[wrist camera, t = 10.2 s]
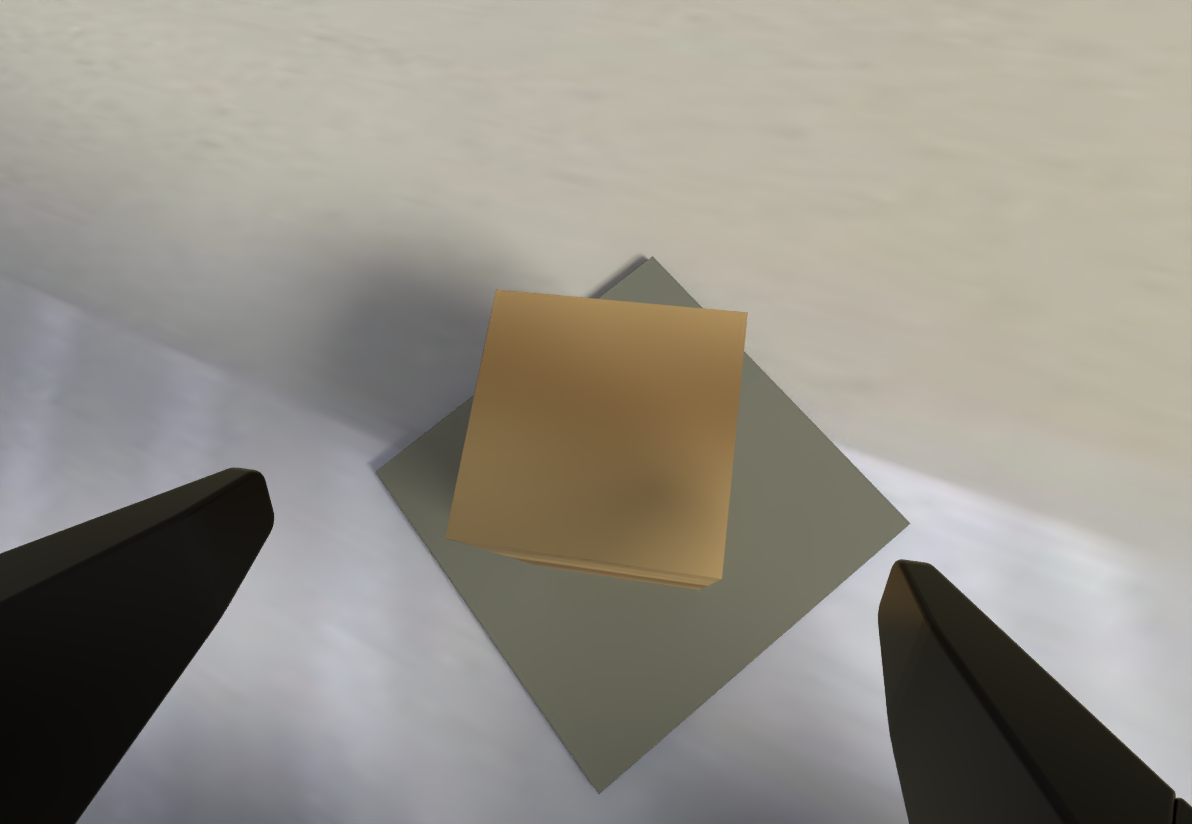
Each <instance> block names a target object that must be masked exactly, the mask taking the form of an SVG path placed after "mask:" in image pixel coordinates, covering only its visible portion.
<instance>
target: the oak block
mask: <svg viewBox="0 0 1192 824" xmlns="http://www.w3.org/2000/svg"><path fill="white" fill-rule="evenodd" d="M747 314H748V312H737V311H726V310H715V309H704V308H692V307H681V306H670V305H659V304H648V303H637V302H626V301H615V300H604V299H593V298H582V297H571V296H560V295H549V294H538V293H527V292H516V291H505V290H496V293H495V298H494V303H493V308H492V312H491V317H490V322H489V327H488V332H487V337H486V342H485V346H484V351H483V356H482V361H481V366H480V371H479V376H478V380H477V385H476V390H475V395H474V400H473V405H472V410H471V414H470V419H469V424H468V429H467V434H466V439H465V443H464V448H463V453H462V458H461V463H460V468H459V473H458V477H457V482H456V487H455V492H454V497H453V502H452V507H451V511H450V516H449V521H448V526H447V531H446V536H445V538H446V539H450V540H453V541H456V542H460V543H463V544H467V545H470V546H473V547H477V548H480V549H483V550H487V551H490V552H494V553H497V554H500V555H504V556H507V557H511V558H514V559H517V560H521V561H524V562H527V563H531V564H534V565H538V566H544V567H550V568H557V569H563V570H570V571H577V572H583V573H590V574H597V575H603V576H610V577H617V578H623V579H630V580H637V581H643V582H650V583H656V584H663V585H670V586H676V587H683V588H690V589H696V590H700V589H703V588H705V587H707V586H709V585H711V584H713V583H715V582H717V581H719V580H721V579H722V573H723V563H724V552H725V542H726V532H727V521H728V511H729V500H730V490H731V480H732V469H733V459H734V449H735V438H736V428H737V417H738V407H739V397H740V386H741V376H742V365H743V355H744V345H745V334H746V324H747Z"/></svg>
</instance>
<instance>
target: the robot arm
mask: <svg viewBox="0 0 1192 824" xmlns="http://www.w3.org/2000/svg"><path fill="white" fill-rule="evenodd" d="M273 524H274V512H273V508H272V504H271V500H270V496H269V493H268V489H267V485H266V481H265V478H264V476H263V475H262V474H261V473H260V472H259V471H256V470H251V469H244V468H229V469H226V470H223V471H221V472H218V473H215V474H213V475H210V476H207V477H205V478H202V479H199V480H197V481H194V482H191V483H189V484H186V485H183V486H181V487H178V488H175V489H172V490H170V491H167V492H164V493H162V494H159V495H156V496H154V497H151V498H148V499H146V500H143V501H140V502H138V503H135V504H132V505H130V506H127V507H124V508H121V509H119V510H116V511H113V512H111V513H108V514H105V515H103V516H100V517H97V518H95V519H92V520H89V521H87V522H84V523H81V524H79V525H76V526H73V527H70V528H68V529H65V530H62V531H60V532H57V533H54V534H52V535H49V536H46V537H44V538H41V539H38V540H36V541H33V542H30V543H28V544H25V545H22V546H19V547H17V548H14V549H11V550H9V551H6V552H3V553H1V554H0V824H76V822H77V821H78V819H79V818H80V817H81V815H82V814H83V812H84V811H85V810H86V808H87V807H88V805H89V804H90V803H91V801H92V800H93V798H94V797H95V796H96V794H97V793H98V791H99V790H100V788H101V787H102V786H103V784H104V783H105V781H106V780H107V779H108V777H109V776H110V774H111V773H112V772H113V770H114V769H115V767H116V766H117V765H118V763H119V762H120V760H121V759H122V757H123V756H124V755H125V753H126V752H127V750H128V749H129V748H130V746H131V745H132V743H133V742H134V741H135V739H136V738H137V736H138V735H139V734H140V732H141V731H142V729H143V728H144V726H145V725H146V724H147V722H148V721H149V719H150V718H151V717H152V715H153V714H154V712H155V711H156V710H157V708H158V707H159V705H160V704H161V702H162V701H163V700H164V698H165V697H166V695H167V694H168V693H169V691H170V690H171V688H172V687H173V686H174V684H175V683H176V681H177V680H178V679H179V677H180V676H181V674H182V673H183V671H184V670H185V669H186V667H187V666H188V664H189V663H190V662H191V660H192V659H193V657H194V656H195V655H196V653H197V652H198V650H199V649H200V648H201V646H202V645H203V643H204V642H205V640H206V639H207V638H208V636H209V635H210V633H211V632H212V631H213V629H214V628H215V626H216V625H217V623H218V622H219V620H220V619H221V617H222V615H223V614H224V612H225V611H226V609H227V607H228V606H229V604H230V602H231V601H232V599H233V597H234V595H235V594H236V592H237V590H238V588H239V587H240V585H241V583H242V581H243V580H244V578H245V576H246V574H247V573H248V571H249V569H250V567H251V566H252V564H253V562H254V560H255V559H256V557H257V555H258V553H259V552H260V550H261V548H262V546H263V545H264V543H265V541H266V539H267V538H268V536H269V534H270V532H271V530H272V527H273ZM878 626H879V636H880V646H881V656H882V666H883V676H884V686H885V696H886V706H887V716H888V724H889V732H890V737H891V743H892V748H893V753H894V758H895V762H896V767H897V771H898V776H899V780H900V785H901V789H902V794H903V798H904V803H905V807H906V812H907V816H908V821H909V824H1192V807H1191V806H1190V805H1189V804H1188V803H1187V802H1186V801H1185V800H1184V799H1182V798H1176V794H1175V791H1174V790H1173V789H1172V788H1171V787H1170V786H1169V785H1168V784H1166V783H1165V782H1164V781H1163V780H1162V779H1161V778H1160V777H1159V776H1158V775H1157V774H1156V773H1155V772H1154V771H1153V770H1151V769H1150V768H1149V767H1148V766H1147V765H1146V764H1145V763H1144V762H1143V761H1142V760H1141V759H1140V758H1139V757H1138V756H1136V755H1135V754H1134V753H1133V752H1132V751H1131V750H1130V749H1129V748H1128V747H1127V746H1126V745H1125V744H1124V743H1123V742H1121V741H1120V740H1119V739H1118V738H1117V737H1116V736H1115V735H1114V734H1113V733H1112V732H1111V731H1110V730H1109V729H1108V728H1106V727H1105V726H1104V725H1103V724H1102V723H1101V722H1100V721H1099V720H1098V719H1097V718H1096V717H1095V716H1094V715H1093V714H1091V713H1090V712H1089V711H1088V710H1087V709H1086V708H1085V707H1084V706H1083V705H1082V704H1081V703H1080V702H1079V701H1078V700H1076V699H1075V698H1074V697H1073V696H1072V695H1071V694H1070V693H1069V692H1068V691H1067V690H1066V689H1065V688H1064V687H1063V686H1061V685H1060V684H1059V683H1058V682H1057V681H1056V680H1055V679H1054V678H1053V677H1052V676H1051V675H1050V674H1049V673H1048V672H1046V671H1045V670H1044V669H1043V668H1042V667H1041V666H1040V665H1039V664H1038V663H1037V662H1036V661H1035V660H1034V659H1033V658H1031V657H1030V656H1029V655H1028V654H1027V653H1026V652H1025V651H1024V650H1023V649H1022V648H1021V647H1020V646H1019V645H1018V644H1016V643H1015V642H1014V641H1013V640H1012V639H1011V638H1010V637H1009V636H1008V635H1007V634H1006V633H1005V632H1004V631H1003V630H1001V629H1000V628H999V627H998V626H997V625H996V624H995V623H994V622H993V621H992V620H991V619H990V618H989V617H988V616H986V615H985V614H984V613H983V612H982V611H981V610H980V609H979V608H978V607H977V606H976V605H975V604H974V603H973V602H971V601H970V600H969V599H968V598H967V597H966V596H965V595H964V594H963V593H962V592H961V591H960V590H959V589H958V588H956V587H955V586H954V585H953V584H952V583H951V582H950V581H949V580H948V579H947V578H946V577H945V576H944V575H943V574H941V573H940V572H939V571H938V570H937V569H936V568H935V567H934V566H932V565H931V564H929V563H925V562H918V561H911V560H903V559H900V560H898V561H896V562H895V563H894V565H893V566H892V569H891V572H890V575H889V578H888V581H887V584H886V587H885V590H884V593H883V596H882V599H881V602H880V606H879V612H878ZM1175 798H1176V799H1175Z"/></svg>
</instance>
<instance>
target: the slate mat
mask: <svg viewBox="0 0 1192 824" xmlns="http://www.w3.org/2000/svg"><path fill="white" fill-rule="evenodd" d="M598 299H604V300H615V301H626V302H637V303H648V304H659V305H670V306H681V307H692V308H702V307H701V306H700V305H699V304H698V303H697V302H696V301H695V300H694V299H693V298H692V297H691V296H690V295H689V294H688V293H687V292H686V290H685V289H684V288H683V287H682V286H681V285H680V284H679V283H678V282H677V281H676V280H675V279H674V278H673V277H672V276H671V275H670V274H669V273H668V272H667V271H666V270H665V269H664V268H663V267H662V266H661V265H660V264H659V262H658V261H657V260H656V259H655V258H654V257H653V256H652V257H651V258H650V259H649V260H647V261H646V262H645V263H643V264H642V265H641V266H640V267H638V268H637V269H636V270H634V271H633V272H632V273H631V274H629V275H628V276H627V277H625V278H624V279H623V280H622V281H620V282H619V283H618V284H616V285H615V286H614V287H613V288H611V289H610V290H609V291H607V292H606V293H605V294H604V295H602V296H601V297H600V298H598ZM473 400H474V396H473V397H471V398H470V399H469V400H467V401H466V402H465V403H464V404H462V405H461V406H460V407H458V408H457V409H456V410H455V411H453V412H452V413H451V414H449V415H448V416H447V417H446V418H444V419H443V420H442V421H440V422H439V423H438V424H437V425H435V426H434V427H433V428H431V429H430V430H429V431H428V432H426V433H425V434H424V435H422V436H421V437H420V438H419V439H417V440H416V441H415V442H413V443H412V444H411V445H410V446H408V447H407V448H406V449H404V450H403V451H402V452H401V453H399V454H398V455H397V456H395V457H394V458H393V459H392V460H390V461H389V462H388V463H386V464H385V465H384V466H383V467H381V468H380V469H379V470H377V471H376V474H377V475H378V476H379V478H380V479H381V481H382V482H383V484H384V485H385V487H386V488H387V489H388V491H389V492H390V494H391V495H392V497H393V498H394V500H395V501H396V502H397V504H398V505H399V507H400V508H401V510H402V511H403V513H404V514H405V515H406V517H407V518H408V520H409V521H410V523H411V524H412V526H413V527H414V528H415V530H416V531H417V533H418V534H419V536H420V537H421V538H422V540H423V541H424V543H425V544H426V546H427V547H428V549H429V550H430V551H431V553H432V554H433V556H434V557H435V559H436V560H437V562H438V563H439V564H440V566H441V567H442V569H443V570H444V572H445V573H446V575H447V576H448V577H449V579H450V580H451V582H452V583H453V585H454V586H455V588H456V589H457V590H458V592H459V593H460V595H461V596H462V598H463V599H464V601H465V602H466V603H467V605H468V606H469V608H470V609H471V611H472V612H473V613H474V615H475V616H476V618H477V619H478V621H479V622H480V624H481V625H482V626H483V628H484V629H485V631H486V632H487V634H488V635H489V637H490V638H491V639H492V641H493V642H494V644H495V645H496V647H497V648H498V650H499V651H500V652H501V654H502V655H503V657H504V658H505V660H506V661H507V663H508V664H509V665H510V667H511V668H512V670H513V671H514V673H515V674H516V676H517V677H518V678H519V680H520V681H521V683H522V684H523V686H524V687H525V688H526V690H527V691H528V693H529V694H530V696H531V697H532V699H533V700H534V701H535V703H536V704H537V706H538V707H539V709H540V710H541V712H542V713H543V714H544V716H545V717H546V719H547V720H548V722H549V723H550V725H551V726H552V727H553V729H554V730H555V732H556V733H557V735H558V736H559V738H560V739H561V740H562V742H563V743H564V745H565V746H566V748H567V749H568V751H569V752H570V753H571V755H572V756H573V758H574V759H575V761H576V762H577V763H578V765H579V766H580V768H581V769H582V771H583V772H584V774H585V775H586V776H587V778H588V779H589V781H590V782H591V784H592V785H593V787H594V788H595V789H596V791H597V792H598V794H600V793H601V792H602V791H603V790H604V789H605V788H607V787H608V786H609V785H610V784H611V783H612V782H613V781H615V780H616V779H617V778H618V777H619V776H620V775H622V774H623V773H624V772H625V771H626V770H627V769H628V768H630V767H631V766H632V765H633V764H634V763H635V762H636V761H638V760H639V759H640V758H641V757H642V756H643V755H645V754H646V753H647V752H648V751H649V750H650V749H651V748H653V747H654V746H655V745H656V744H657V743H658V742H659V741H661V740H662V739H663V738H664V737H665V736H666V735H668V734H669V733H670V732H671V731H672V730H673V729H674V728H676V727H677V726H678V725H679V724H680V723H681V722H683V721H684V720H685V719H686V718H687V717H688V716H689V715H691V714H692V713H693V712H694V711H695V710H696V709H697V708H699V707H700V706H701V705H702V704H703V703H704V702H706V701H707V700H708V699H709V698H710V697H711V696H712V695H714V694H715V693H716V692H717V691H718V690H719V689H721V688H722V687H723V686H724V685H725V684H726V683H727V682H729V681H730V680H731V679H732V678H733V677H734V676H735V675H737V674H738V673H739V672H740V671H741V670H742V669H744V668H745V667H746V666H747V665H748V664H749V663H750V662H752V661H753V660H754V659H755V658H756V657H757V656H759V655H760V654H761V653H762V652H763V651H764V650H765V649H767V648H768V647H769V646H770V645H771V644H772V643H773V642H775V641H776V640H777V639H778V638H779V637H780V636H782V635H783V634H784V633H785V632H786V631H787V630H788V629H790V628H791V627H792V626H793V625H794V624H795V623H796V622H798V621H799V620H800V619H801V618H802V617H803V616H805V615H806V614H807V613H808V612H809V611H810V610H811V609H813V608H814V607H815V606H816V605H817V604H818V603H820V602H821V601H822V600H823V599H824V598H825V597H826V596H828V595H829V594H830V593H831V592H832V591H833V590H834V589H836V588H837V587H838V586H839V585H840V584H841V583H843V582H844V581H845V580H846V579H847V578H848V577H849V576H851V575H852V574H853V573H854V572H855V571H856V570H858V569H859V568H860V567H861V566H862V565H863V564H864V563H866V562H867V561H868V560H869V559H870V558H871V557H872V556H874V555H875V554H876V553H877V552H878V551H879V550H881V549H882V548H883V547H884V546H885V545H886V544H887V543H889V542H890V541H891V540H892V539H893V538H894V537H896V536H897V535H898V534H899V533H900V532H901V531H902V530H904V529H905V528H906V527H907V526H908V525H909V524H910V523H909V522H908V521H907V520H906V519H905V517H904V516H903V515H902V514H901V513H900V512H899V511H898V510H897V509H896V508H895V507H894V506H893V505H892V504H891V503H890V502H889V501H888V500H887V499H886V498H885V497H884V496H883V495H882V494H881V493H880V492H879V491H878V490H877V488H876V487H875V486H874V485H873V484H872V483H871V482H870V481H869V480H868V479H867V478H866V477H865V476H864V475H863V474H862V473H861V472H860V471H859V470H858V469H857V468H856V467H855V466H854V465H853V464H852V463H851V462H850V460H849V459H848V458H847V457H846V456H845V455H844V454H843V453H842V452H841V451H840V450H839V449H838V448H837V447H836V446H835V445H834V444H833V443H832V442H831V441H830V440H829V439H828V438H827V437H826V436H825V435H824V434H823V432H822V431H821V430H820V429H819V428H818V427H817V426H816V425H815V424H814V423H813V422H812V421H811V420H810V419H809V418H808V417H807V416H806V415H805V414H804V413H803V412H802V411H801V410H800V409H799V408H798V407H797V406H796V404H795V403H794V402H793V401H792V400H791V399H790V398H789V397H788V396H787V395H786V394H785V393H784V392H783V391H782V390H781V389H780V388H779V387H778V386H777V385H776V384H775V383H774V382H773V381H772V380H771V379H770V378H769V377H768V375H767V374H766V373H765V372H764V371H763V370H762V369H761V368H760V367H759V366H758V365H757V364H756V363H755V362H754V361H753V360H752V359H751V358H750V357H749V356H748V355H747V354H746V353H745V352H744V355H743V365H742V376H741V386H740V397H739V407H738V417H737V428H736V438H735V449H734V459H733V469H732V480H731V490H730V500H729V511H728V521H727V532H726V542H725V552H724V563H723V573H722V579H721V580H719V581H717V582H715V583H713V584H711V585H709V586H707V587H705V588H703V589H700V590H696V589H690V588H683V587H676V586H670V585H663V584H656V583H650V582H643V581H637V580H630V579H623V578H617V577H610V576H603V575H597V574H590V573H583V572H577V571H570V570H563V569H557V568H550V567H544V566H538V565H534V564H531V563H527V562H524V561H521V560H517V559H514V558H511V557H507V556H504V555H500V554H497V553H494V552H490V551H487V550H483V549H480V548H477V547H473V546H470V545H467V544H463V543H460V542H456V541H453V540H450V539H446V538H445V536H446V531H447V526H448V521H449V516H450V511H451V507H452V502H453V497H454V492H455V487H456V482H457V477H458V473H459V468H460V463H461V458H462V453H463V448H464V443H465V439H466V434H467V429H468V424H469V419H470V414H471V410H472V405H473Z"/></svg>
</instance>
